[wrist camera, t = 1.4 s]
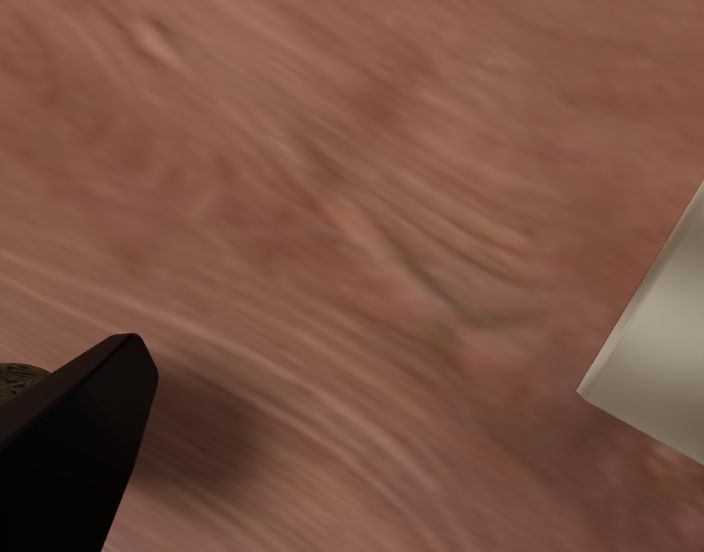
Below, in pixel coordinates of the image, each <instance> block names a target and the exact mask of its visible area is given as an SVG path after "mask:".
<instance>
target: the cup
mask: <svg viewBox="0 0 704 552" xmlns="http://www.w3.org/2000/svg"><path fill="white" fill-rule="evenodd" d="M49 374H51V373H50V372H48V371H47V370H44V369H42V368H39V367H35V366H31V365H27V364H19V363H0V405H2V404H4V403H5V402H7V401H8V400H10V399H12V398H13V397H15V396H16V395H18V394H19V393H21V392H23V391H24V390H26V389H27V388H29V387H31V386H32V385H34V384H35V383H37V382H38V381H40V380H42V379H43V378H45V377H46V376H48V375H49Z"/></svg>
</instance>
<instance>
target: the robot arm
mask: <svg viewBox="0 0 704 552" xmlns="http://www.w3.org/2000/svg"><path fill="white" fill-rule="evenodd" d="M157 385H158V370H157V367H156V365H155V363H154V361H153V359H152V357H151V355H150V353H149V351H148V349H147V347H146V345H145V343H144V341H143V339H142V338H141V337H140V336H139V335H138V334H135V333H126V334H115V335H112V336H110V337H108V338H106V339H105V340H103V341H102V342H100V343H99V344H97V345H95V346H94V347H92V348H91V349H89V350H87V351H86V352H84V353H83V354H81V355H80V356H78V357H76V358H75V359H73V360H72V361H70V362H68V363H67V364H65V365H64V366H62V367H61V368H59V369H57V370H56V371H54V372H53V373H51V374H49V375H48V376H46V377H45V378H43V379H42V380H40V381H38V382H37V383H35V384H34V385H32V386H31V387H29V388H27V389H26V390H24V391H23V392H21V393H19V394H18V395H16V396H15V397H13V398H12V399H10V400H8V401H7V402H5V403H4V404H2V405H0V552H101V551H102V548H103V546H104V543H105V540H106V538H107V535H108V533H109V530H110V528H111V525H112V523H113V520H114V517H115V515H116V512H117V510H118V507H119V505H120V502H121V500H122V497H123V494H124V492H125V489H126V487H127V484H128V482H129V479H130V476H131V474H132V471H133V468H134V465H135V462H136V459H137V456H138V453H139V449H140V446H141V442H142V439H143V435H144V431H145V428H146V424H147V421H148V417H149V413H150V410H151V406H152V403H153V399H154V395H155V392H156V388H157Z"/></svg>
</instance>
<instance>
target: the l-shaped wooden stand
mask: <svg viewBox="0 0 704 552" xmlns="http://www.w3.org/2000/svg"><path fill="white" fill-rule="evenodd" d="M576 391H577V392H578V393H579V394H580V395H581V397H582V398H583V399H584V400H586V401H587V402H589V403H591V404H593V405H595V406H596V407H598V408H600V409H602V410H604V411H606V412H607V413H609V414H611V415H613V416H615V417H617V418H618V419H620V420H622V421H624V422H626V423H628V424H629V425H631V426H633V427H635V428H637V429H639V430H640V431H642V432H644V433H646V434H648V435H649V436H651V437H653V438H655V439H657V440H659V441H660V442H662V443H664V444H666V445H668V446H670V447H671V448H673V449H675V450H677V451H679V452H681V453H682V454H684V455H686V456H688V457H690V458H691V459H693V460H695V461H697V462H699V463H701V464H702V465H704V180H703V182H702V183H701V185H700V187H699V188H698V190H697V192H696V193H695V195H694V196H693V198H692V200H691V201H690V203H689V205H688V206H687V208H686V210H685V211H684V213H683V215H682V216H681V218H680V220H679V221H678V223H677V225H676V226H675V228H674V230H673V231H672V233H671V235H670V236H669V238H668V240H667V241H666V243H665V245H664V246H663V248H662V249H661V251H660V253H659V254H658V256H657V258H656V259H655V261H654V263H653V264H652V266H651V268H650V269H649V271H648V273H647V274H646V276H645V278H644V279H643V281H642V283H641V284H640V286H639V288H638V289H637V291H636V293H635V294H634V296H633V297H632V299H631V301H630V302H629V304H628V306H627V307H626V309H625V311H624V312H623V314H622V316H621V317H620V319H619V321H618V322H617V324H616V326H615V327H614V329H613V331H612V332H611V334H610V336H609V337H608V339H607V341H606V342H605V344H604V346H603V347H602V349H601V350H600V352H599V354H598V355H597V357H596V359H595V360H594V362H593V364H592V365H591V367H590V369H589V370H588V372H587V374H586V375H585V377H584V379H583V380H582V382H581V384H580V385H579V387H578V389H577V390H576Z"/></svg>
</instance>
